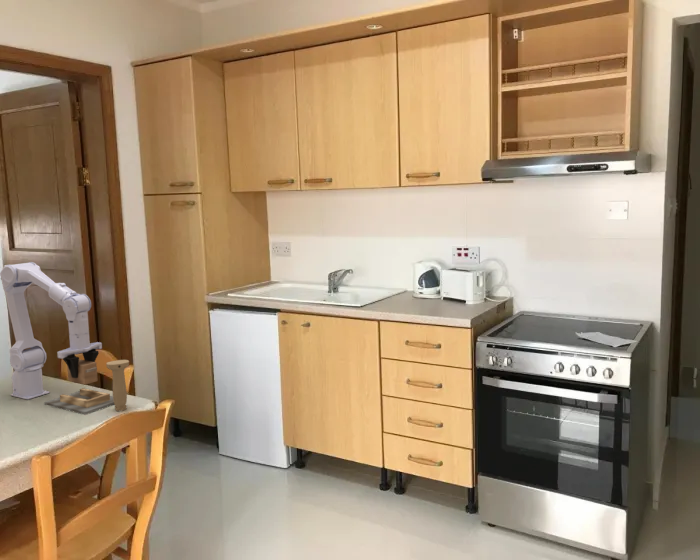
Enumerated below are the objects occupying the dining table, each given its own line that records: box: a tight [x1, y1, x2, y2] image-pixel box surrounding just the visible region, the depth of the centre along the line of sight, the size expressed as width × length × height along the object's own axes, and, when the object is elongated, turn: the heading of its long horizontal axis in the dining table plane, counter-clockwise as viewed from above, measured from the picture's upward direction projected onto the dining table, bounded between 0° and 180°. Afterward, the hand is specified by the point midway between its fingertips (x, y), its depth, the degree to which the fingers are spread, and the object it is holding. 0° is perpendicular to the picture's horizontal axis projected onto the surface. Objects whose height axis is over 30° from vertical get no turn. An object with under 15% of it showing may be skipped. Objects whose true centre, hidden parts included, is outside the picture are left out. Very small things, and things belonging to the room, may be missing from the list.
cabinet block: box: [66, 358, 98, 385], centre depth 194 cm, size 9×5×6 cm, turn 60°
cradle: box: [44, 387, 114, 415], centre depth 196 cm, size 20×14×3 cm
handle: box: [106, 359, 130, 412], centre depth 188 cm, size 5×6×15 cm
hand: (82, 375), depth 195 cm, fingers closed on cabinet block, 5 cm apart
